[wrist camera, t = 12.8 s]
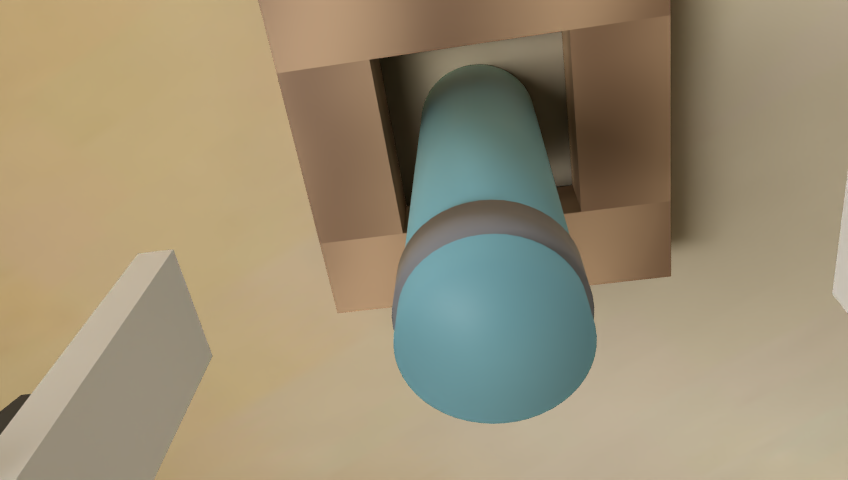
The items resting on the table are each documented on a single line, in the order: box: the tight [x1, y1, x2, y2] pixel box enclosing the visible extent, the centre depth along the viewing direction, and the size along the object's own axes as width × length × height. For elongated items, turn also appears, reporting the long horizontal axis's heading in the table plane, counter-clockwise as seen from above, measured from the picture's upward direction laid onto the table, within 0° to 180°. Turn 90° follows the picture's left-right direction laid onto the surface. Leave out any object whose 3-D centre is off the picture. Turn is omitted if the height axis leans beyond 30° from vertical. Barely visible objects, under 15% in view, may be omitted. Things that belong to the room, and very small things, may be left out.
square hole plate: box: [258, 0, 671, 313], centre depth 23 cm, size 11×11×2 cm
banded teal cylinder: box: [392, 65, 597, 424], centre depth 19 cm, size 4×4×12 cm
